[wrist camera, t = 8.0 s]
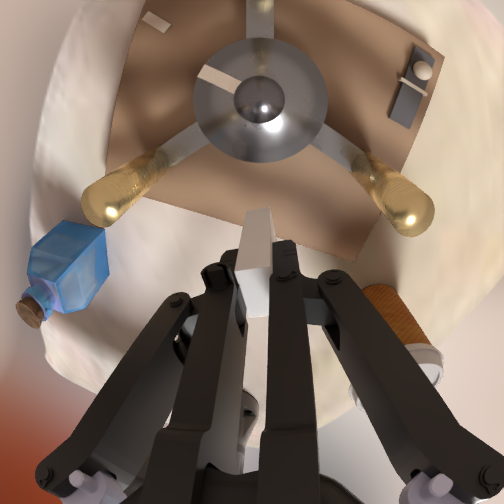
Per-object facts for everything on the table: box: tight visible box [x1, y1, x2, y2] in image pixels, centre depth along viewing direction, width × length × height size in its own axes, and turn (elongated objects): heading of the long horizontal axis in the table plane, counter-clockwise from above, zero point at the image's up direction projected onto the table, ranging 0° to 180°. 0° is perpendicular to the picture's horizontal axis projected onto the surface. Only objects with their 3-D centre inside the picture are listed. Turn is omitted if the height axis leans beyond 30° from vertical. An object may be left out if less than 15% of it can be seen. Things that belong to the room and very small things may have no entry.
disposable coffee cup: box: [349, 284, 444, 412], centre depth 25 cm, size 10×10×12 cm
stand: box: [105, 0, 445, 262], centre depth 19 cm, size 21×24×4 cm
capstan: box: [81, 0, 435, 237], centre depth 14 cm, size 16×18×10 cm
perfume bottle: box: [16, 220, 109, 329], centre depth 24 cm, size 6×6×12 cm
